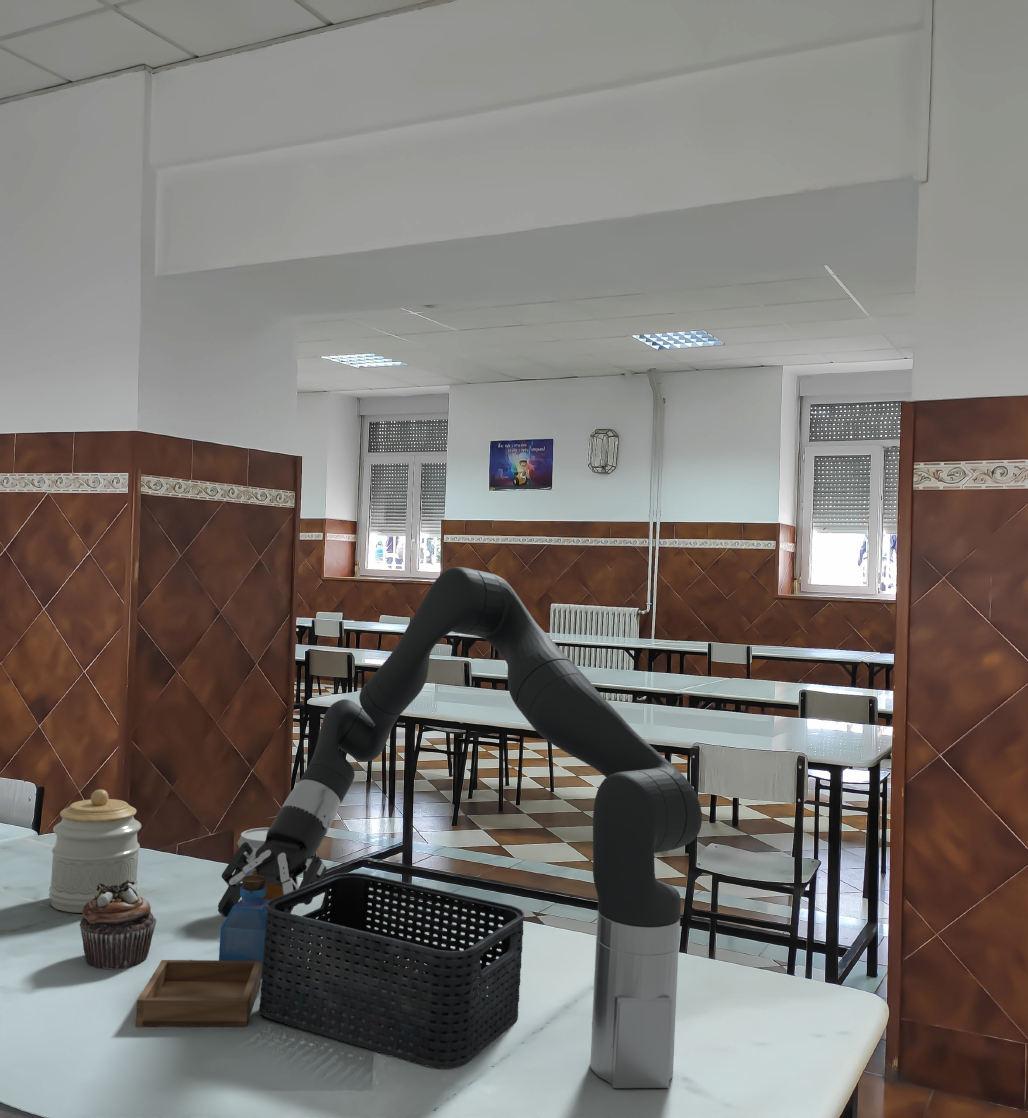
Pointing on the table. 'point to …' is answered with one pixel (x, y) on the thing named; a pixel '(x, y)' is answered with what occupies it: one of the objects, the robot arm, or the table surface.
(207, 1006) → the tray
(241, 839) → the disposable coffee cup
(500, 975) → the storage bin
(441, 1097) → the table surface
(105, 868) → the jar
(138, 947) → the cupcake
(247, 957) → the perfume bottle
